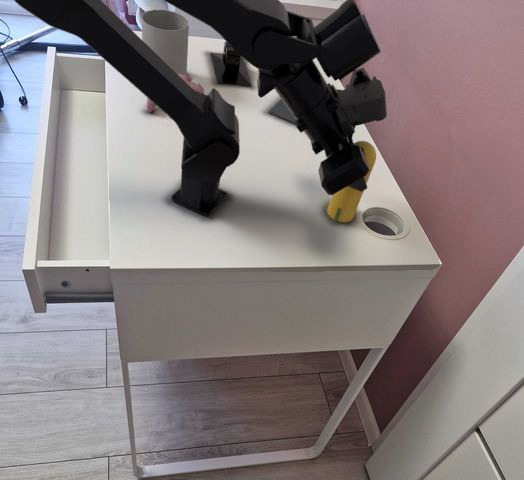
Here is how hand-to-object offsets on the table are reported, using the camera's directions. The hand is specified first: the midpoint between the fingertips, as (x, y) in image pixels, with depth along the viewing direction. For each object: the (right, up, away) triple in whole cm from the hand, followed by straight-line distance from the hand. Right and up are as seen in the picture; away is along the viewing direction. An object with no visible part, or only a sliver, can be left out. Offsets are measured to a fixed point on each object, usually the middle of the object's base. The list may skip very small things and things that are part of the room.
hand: (361, 179), depth 76 cm
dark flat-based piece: (-22, +32, +27) cm, 47 cm away
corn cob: (-2, -4, +5) cm, 7 cm away
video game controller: (-31, +17, +15) cm, 38 cm away
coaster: (-8, +21, +22) cm, 31 cm away
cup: (-34, +27, +21) cm, 49 cm away
